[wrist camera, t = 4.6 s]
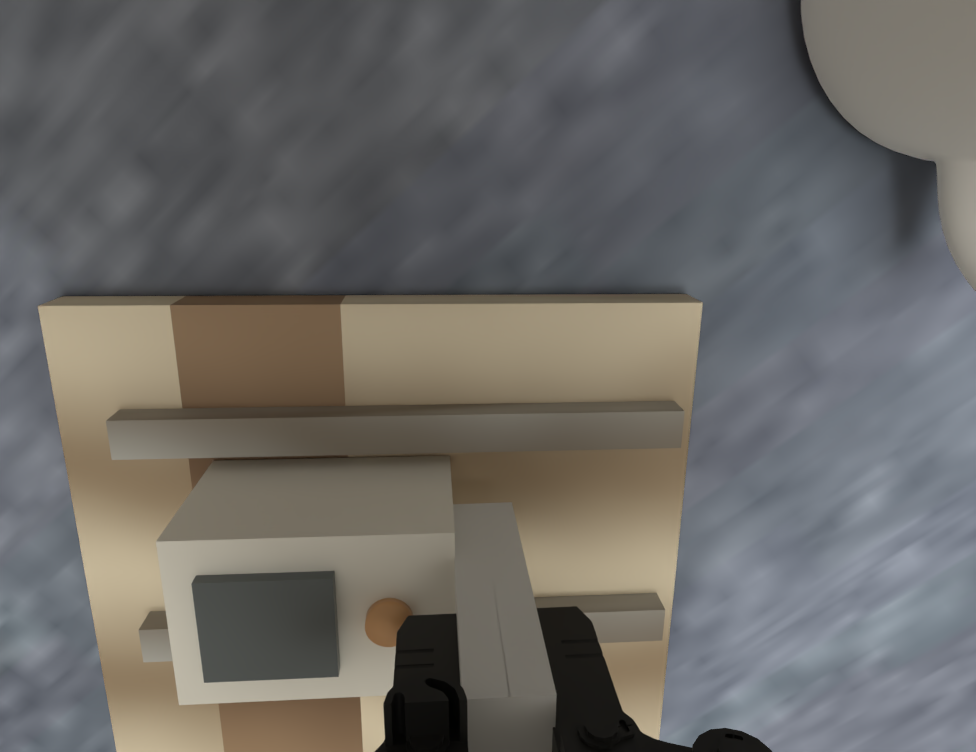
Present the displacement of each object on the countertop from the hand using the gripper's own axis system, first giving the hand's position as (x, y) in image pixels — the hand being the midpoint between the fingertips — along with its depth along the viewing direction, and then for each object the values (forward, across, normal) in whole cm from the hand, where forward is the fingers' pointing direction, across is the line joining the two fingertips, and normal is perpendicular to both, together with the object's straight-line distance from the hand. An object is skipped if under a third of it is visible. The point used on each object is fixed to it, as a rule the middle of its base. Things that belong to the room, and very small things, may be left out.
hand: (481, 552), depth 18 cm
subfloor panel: (+3, -2, -4) cm, 6 cm away
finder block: (+2, -4, 0) cm, 4 cm away
